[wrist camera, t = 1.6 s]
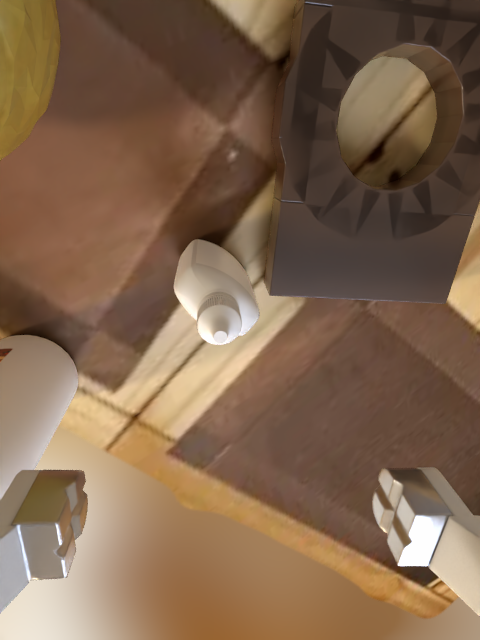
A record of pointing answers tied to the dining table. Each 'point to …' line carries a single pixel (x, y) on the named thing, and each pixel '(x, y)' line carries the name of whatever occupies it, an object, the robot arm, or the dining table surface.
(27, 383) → the milk bottle
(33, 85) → the pitcher
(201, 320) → the eye dropper bottle
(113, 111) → the dining table surface
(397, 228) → the grey ring plate
